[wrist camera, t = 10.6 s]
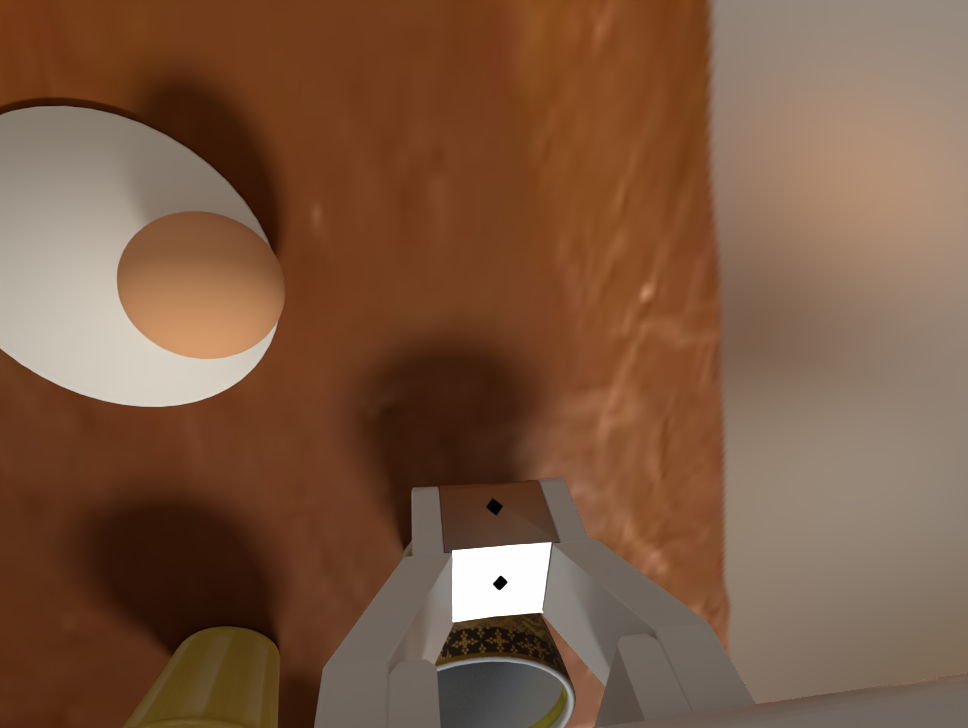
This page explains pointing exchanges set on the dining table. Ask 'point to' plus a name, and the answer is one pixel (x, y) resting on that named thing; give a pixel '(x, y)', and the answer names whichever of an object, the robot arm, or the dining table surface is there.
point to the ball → (200, 285)
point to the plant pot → (215, 683)
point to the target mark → (98, 252)
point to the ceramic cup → (502, 674)
